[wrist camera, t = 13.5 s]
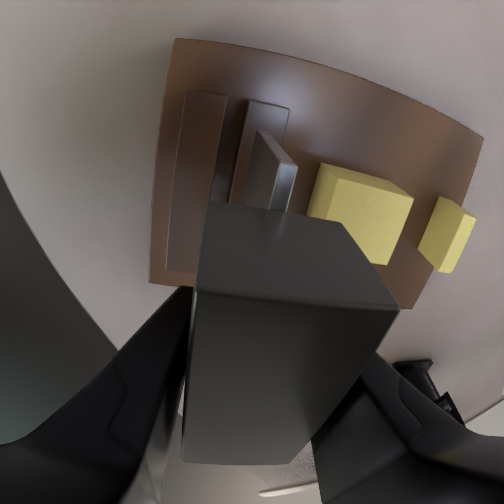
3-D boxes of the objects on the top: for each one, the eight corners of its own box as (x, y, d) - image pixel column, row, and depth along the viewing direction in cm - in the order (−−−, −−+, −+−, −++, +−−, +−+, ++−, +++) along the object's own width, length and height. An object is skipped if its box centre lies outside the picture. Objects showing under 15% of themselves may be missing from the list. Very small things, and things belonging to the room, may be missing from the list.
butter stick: (389, 180, 18) (414, 198, 15) (367, 240, 20) (387, 265, 18) (320, 162, 17) (338, 177, 15) (301, 229, 20) (313, 255, 17)
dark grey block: (302, 139, 10) (433, 250, 4) (257, 310, 14) (279, 474, 7) (220, 123, 10) (203, 209, 3) (193, 303, 14) (180, 472, 7)
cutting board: (472, 133, 18) (506, 146, 14) (405, 299, 26) (424, 328, 22) (179, 41, 14) (166, 29, 11) (152, 271, 22) (140, 306, 19)
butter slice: (451, 200, 19) (477, 218, 16) (430, 251, 21) (451, 274, 19) (438, 195, 19) (464, 213, 16) (416, 248, 21) (438, 272, 18)
